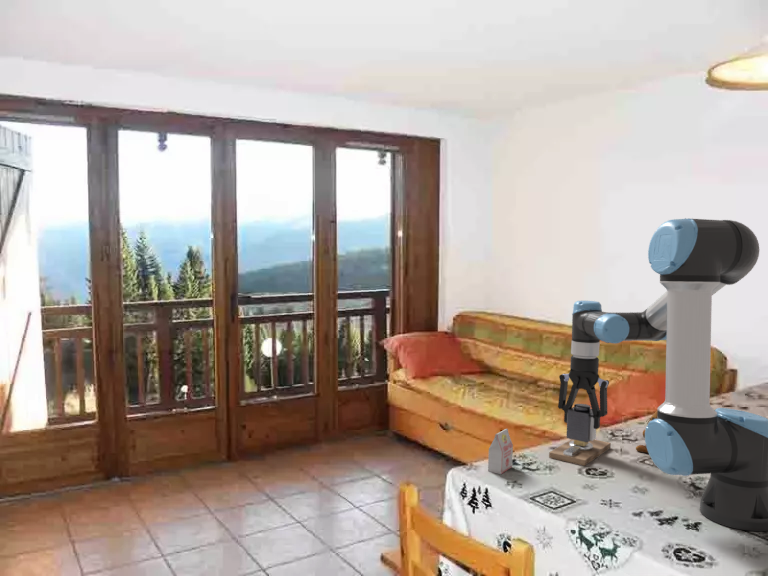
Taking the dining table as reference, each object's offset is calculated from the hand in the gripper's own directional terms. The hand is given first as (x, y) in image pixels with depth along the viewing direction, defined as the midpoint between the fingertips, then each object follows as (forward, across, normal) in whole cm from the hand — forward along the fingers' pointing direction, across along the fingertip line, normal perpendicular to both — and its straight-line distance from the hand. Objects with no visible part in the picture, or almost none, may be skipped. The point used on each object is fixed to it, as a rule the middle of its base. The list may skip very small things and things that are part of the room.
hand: (581, 436), depth 184 cm
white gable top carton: (+5, +11, +27) cm, 30 cm away
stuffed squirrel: (+5, -19, -15) cm, 24 cm away
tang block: (+5, 0, 0) cm, 5 cm away
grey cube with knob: (0, 0, 0) cm, 0 cm away
